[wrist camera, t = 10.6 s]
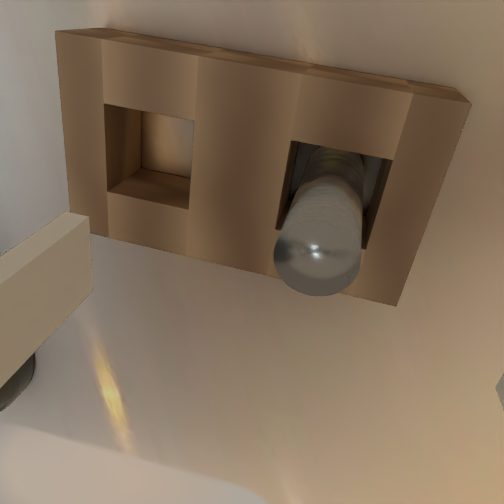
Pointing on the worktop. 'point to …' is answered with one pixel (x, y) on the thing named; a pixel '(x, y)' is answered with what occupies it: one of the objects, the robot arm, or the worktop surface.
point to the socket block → (246, 148)
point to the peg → (323, 225)
